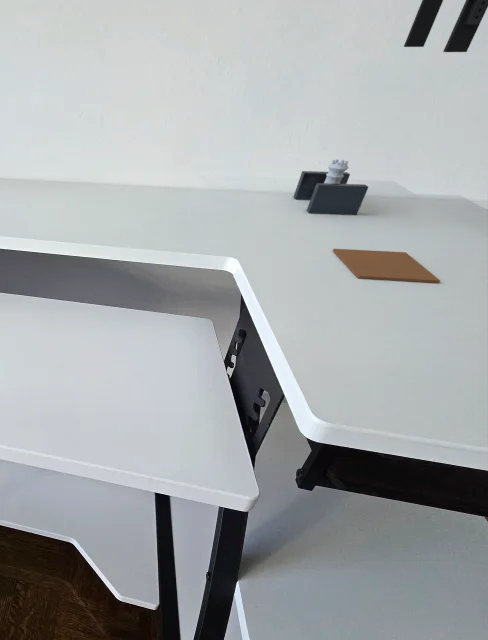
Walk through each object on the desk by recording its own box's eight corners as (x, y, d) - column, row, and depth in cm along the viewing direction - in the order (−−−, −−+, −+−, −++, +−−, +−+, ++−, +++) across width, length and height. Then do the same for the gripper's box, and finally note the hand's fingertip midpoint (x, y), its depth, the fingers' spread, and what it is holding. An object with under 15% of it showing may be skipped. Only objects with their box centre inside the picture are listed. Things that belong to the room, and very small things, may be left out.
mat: (404, 254, 75) (405, 252, 75) (439, 283, 67) (440, 280, 67) (332, 250, 77) (333, 248, 76) (357, 278, 69) (359, 275, 68)
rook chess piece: (339, 210, 92) (357, 164, 87) (312, 208, 93) (329, 163, 88) (334, 202, 95) (351, 159, 90) (308, 201, 96) (323, 157, 92)
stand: (337, 198, 97) (347, 172, 94) (356, 215, 89) (368, 186, 86) (293, 197, 99) (302, 170, 96) (308, 213, 91) (319, 185, 88)
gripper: (437, -119, 77) (375, 45, 89) (542, -163, 57) (444, 54, 70) (493, -123, 75) (423, 44, 88) (621, -169, 56) (507, 54, 68)
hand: (432, 49), depth 79 cm, fingers open, 13 cm apart
